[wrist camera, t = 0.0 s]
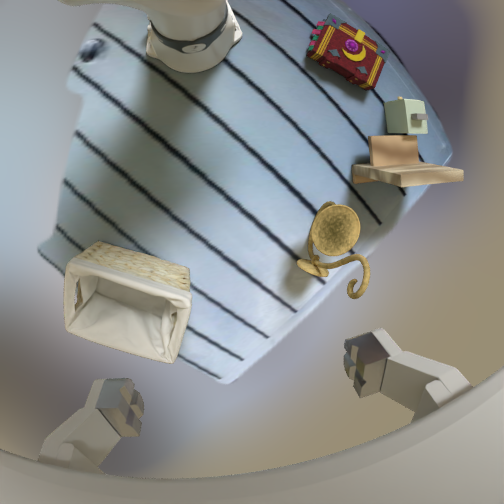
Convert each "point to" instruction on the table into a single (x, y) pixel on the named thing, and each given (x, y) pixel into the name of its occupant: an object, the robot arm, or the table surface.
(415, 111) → the sage cabinet
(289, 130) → the table surface
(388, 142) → the wall board
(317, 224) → the wall sconce
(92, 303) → the storage basket
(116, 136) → the table surface
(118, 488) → the robot arm
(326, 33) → the decorative book
